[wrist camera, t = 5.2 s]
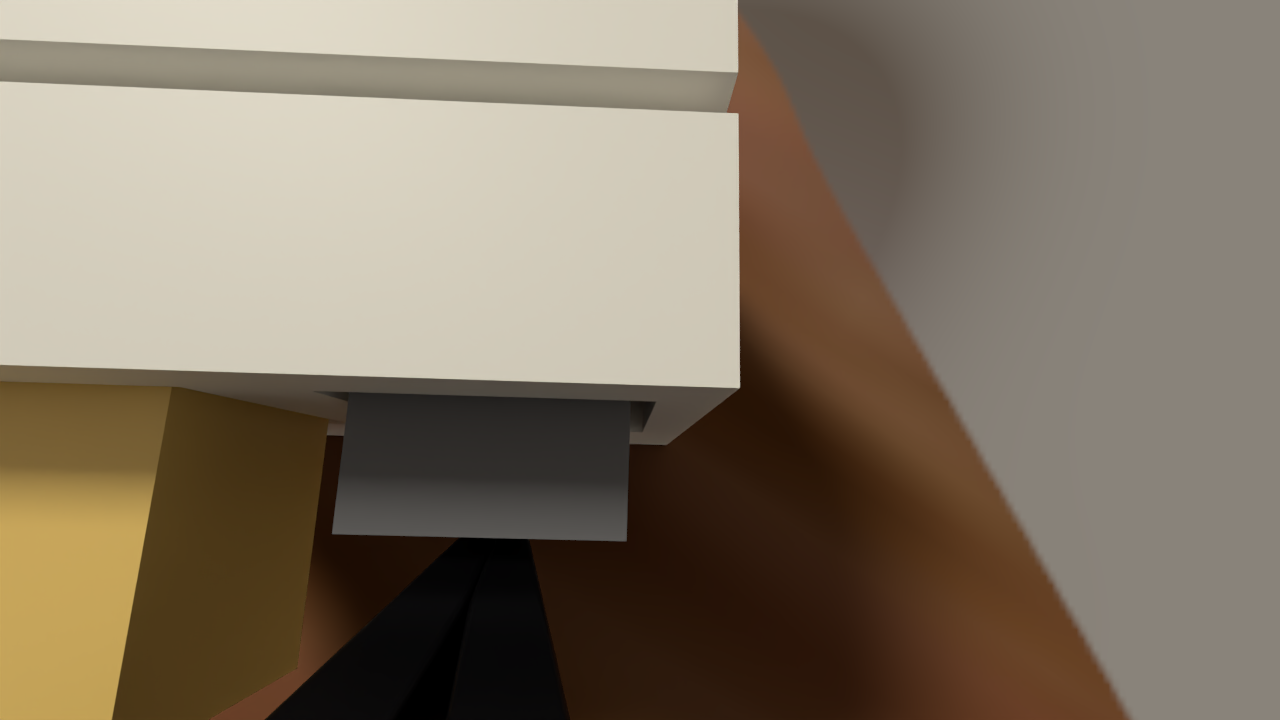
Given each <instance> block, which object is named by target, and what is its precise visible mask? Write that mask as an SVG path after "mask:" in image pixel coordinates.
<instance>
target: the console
mask: <svg viewBox="0 0 1280 720" xmlns="http://www.w3.org/2000/svg"><path fill="white" fill-rule="evenodd" d="M737 75H738V0H0V381H4V382H37V383H70V384H102V385H135V386H168V387H182V388H187V389H191V390H196V391H201V392H205V393H210V394H215V395H219V396H224V397H229V398H233V399H238V400H243V401H247V402H252V403H257V404H261V405H266V406H271V407H275V408H280V409H284V410H289V411H294V412H298V413H303V414H308V415H312V416H317V417H322V418H326V419H329V422H328V430H327V435H336V436H344V431H345V423H346V415H347V407H348V398H349V392H363V393H396V394H429V395H461V396H494V397H527V398H559V399H592V400H624V401H631V408H630V441H629V444H649V445H667V444H669V443H670V442H671V441H673V440H674V439H675V438H676V437H678V436H679V435H680V434H682V433H683V432H684V431H685V430H687V429H688V428H689V427H691V426H692V425H693V424H694V423H696V422H697V421H698V420H700V419H701V418H702V417H703V416H705V415H706V414H707V413H709V412H710V411H711V410H712V409H714V408H715V407H716V406H718V405H719V404H720V403H721V402H723V401H724V400H725V399H727V398H728V397H729V396H730V395H732V394H733V393H734V392H736V391H737V390H738V389H739V388H740V309H739V143H738V114H736V113H727V109H728V106H729V102H730V99H731V95H732V92H733V88H734V85H735V81H736V78H737Z"/></svg>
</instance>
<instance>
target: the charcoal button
mask: <svg viewBox="0 0 1280 720" xmlns="http://www.w3.org/2000/svg"><path fill="white" fill-rule="evenodd" d="M630 408H631V401H624V400H592V399H559V398H527V397H494V396H461V395H429V394H396V393H363V392H349V398H348V407H347V415H346V423H345V431H344V439H343V448H342V456H341V464H340V472H339V480H338V488H337V497H336V505H335V513H334V521H333V529H332V534H347V535H388V536H429V537H470V538H511V539H552V540H593V541H627V508H628V475H629V441H630Z"/></svg>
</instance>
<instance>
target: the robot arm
mask: <svg viewBox="0 0 1280 720" xmlns="http://www.w3.org/2000/svg"><path fill="white" fill-rule="evenodd" d="M265 720H570V717H569V712H568V708H567V703H566V699H565V695H564V690H563V686H562V681H561V677H560V673H559V668H558V664H557V660H556V655H555V651H554V646H553V642H552V638H551V633H550V629H549V624H548V620H547V616H546V611H545V607H544V603H543V598H542V594H541V589H540V585H539V581H538V576H537V572H536V568H535V563H534V559H533V554H532V550H531V546H530V541H529V539H511V538H470V537H460V538H459V539H457V540H456V541H455V542H454V543H453V544H452V545H451V546H450V547H449V548H448V549H447V550H446V551H445V552H444V553H443V554H441V555H440V556H439V557H438V558H437V559H436V560H435V561H434V562H433V563H432V564H431V565H430V566H429V567H428V568H426V569H425V570H424V571H423V572H422V573H421V574H420V575H419V576H418V577H417V578H416V579H415V580H414V581H413V582H411V583H410V584H409V585H408V586H407V587H406V588H405V589H404V590H403V591H402V592H401V593H400V594H399V595H398V596H397V597H395V598H394V599H393V600H392V601H391V602H390V603H389V604H388V605H387V606H386V607H385V608H384V609H383V610H382V611H380V612H379V613H378V614H377V615H376V616H375V617H374V618H373V619H372V620H371V621H370V622H369V623H368V624H367V625H366V626H364V627H363V628H362V629H361V630H360V631H359V632H358V633H357V634H356V635H355V636H354V637H353V638H352V639H351V640H349V641H348V642H347V643H346V644H345V645H344V646H343V647H342V648H341V649H340V650H339V651H338V652H337V653H336V654H334V655H333V656H332V657H331V658H330V659H329V660H328V661H327V662H326V663H325V664H324V665H323V666H322V667H321V668H320V669H318V670H317V671H316V672H315V673H314V674H313V675H312V676H311V677H310V678H309V679H308V680H307V681H306V682H305V683H303V684H302V685H301V686H300V687H299V688H298V689H297V690H296V691H295V692H294V693H293V694H292V695H291V696H290V697H288V698H287V699H286V700H285V701H284V702H283V703H282V704H281V705H280V706H279V707H278V708H277V709H276V710H275V711H274V712H272V713H271V714H270V715H269V716H268V717H267V718H266V719H265Z"/></svg>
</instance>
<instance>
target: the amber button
mask: <svg viewBox="0 0 1280 720" xmlns="http://www.w3.org/2000/svg"><path fill="white" fill-rule="evenodd" d="M328 422H329V419H326V418H322V417H317V416H312V415H308V414H303V413H298V412H294V411H289V410H284V409H280V408H275V407H271V406H266V405H261V404H257V403H252V402H247V401H243V400H238V399H233V398H229V397H224V396H219V395H215V394H210V393H205V392H201V391H196V390H191V389H187V388H182V387H168V386H135V385H102V384H70V383H37V382H4V381H0V720H208V719H210V718H212V717H214V716H215V715H217V714H219V713H220V712H222V711H224V710H226V709H227V708H229V707H231V706H233V705H234V704H236V703H238V702H239V701H241V700H243V699H245V698H246V697H248V696H250V695H252V694H253V693H255V692H257V691H258V690H260V689H262V688H264V687H265V686H267V685H269V684H271V683H272V682H274V681H276V680H277V679H279V678H281V677H283V676H284V675H286V674H288V673H290V672H291V671H293V670H295V669H297V665H298V657H299V649H300V641H301V633H302V626H303V618H304V610H305V602H306V594H307V586H308V579H309V571H310V563H311V555H312V547H313V539H314V532H315V524H316V516H317V508H318V500H319V492H320V485H321V477H322V469H323V461H324V453H325V445H326V438H327V430H328Z"/></svg>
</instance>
